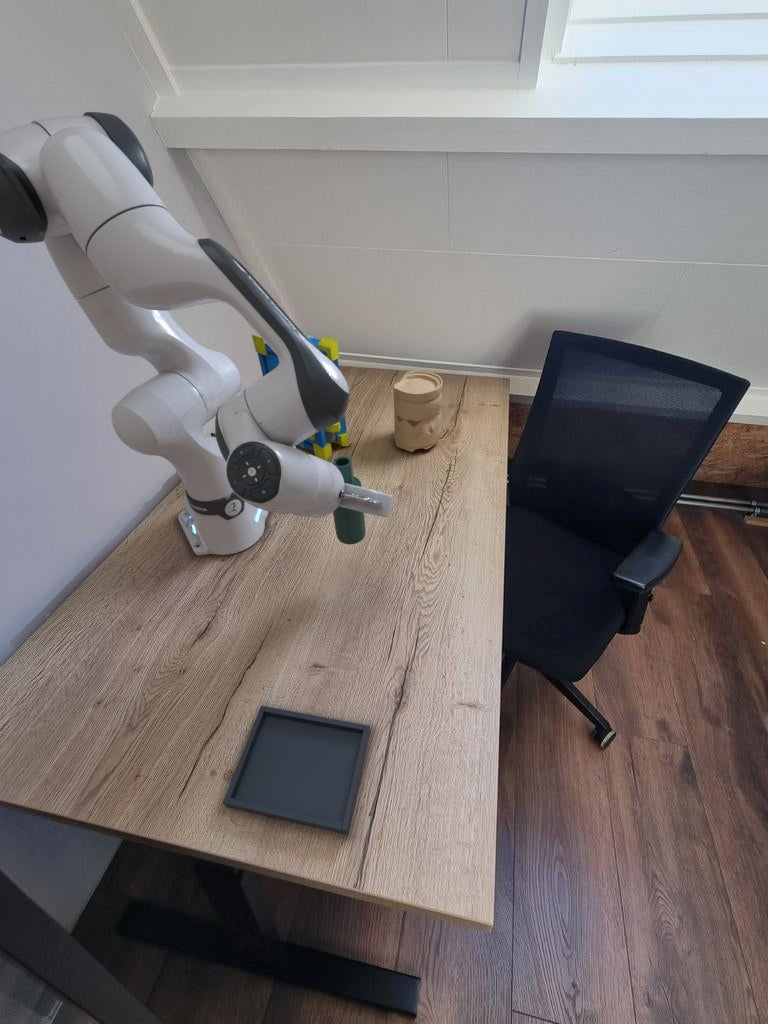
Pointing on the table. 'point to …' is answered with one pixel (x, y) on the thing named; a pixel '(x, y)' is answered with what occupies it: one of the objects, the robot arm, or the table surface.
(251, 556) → the table surface
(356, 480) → the flask
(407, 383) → the container
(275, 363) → the decorative book
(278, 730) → the tray
